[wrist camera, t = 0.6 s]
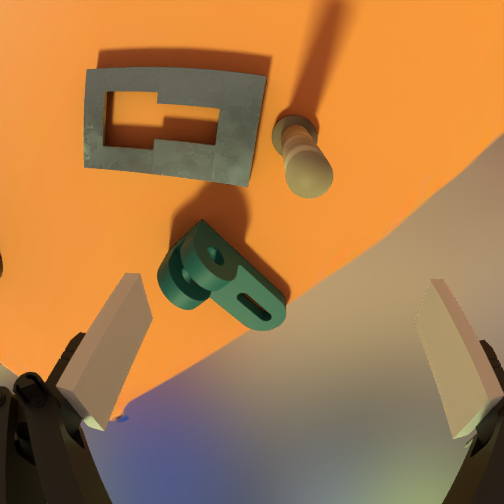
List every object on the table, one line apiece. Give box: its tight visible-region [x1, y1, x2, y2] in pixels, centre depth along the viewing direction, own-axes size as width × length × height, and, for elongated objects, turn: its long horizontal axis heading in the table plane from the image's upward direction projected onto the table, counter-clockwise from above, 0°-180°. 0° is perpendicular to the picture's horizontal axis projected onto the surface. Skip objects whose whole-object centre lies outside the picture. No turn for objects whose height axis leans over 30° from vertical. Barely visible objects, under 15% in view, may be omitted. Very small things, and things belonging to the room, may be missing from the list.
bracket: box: [157, 219, 286, 331], centre depth 39 cm, size 18×7×8 cm, turn 43°
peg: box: [272, 115, 333, 198], centre depth 25 cm, size 5×5×15 cm
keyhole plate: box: [84, 67, 267, 187], centre depth 30 cm, size 20×12×2 cm, turn 81°
